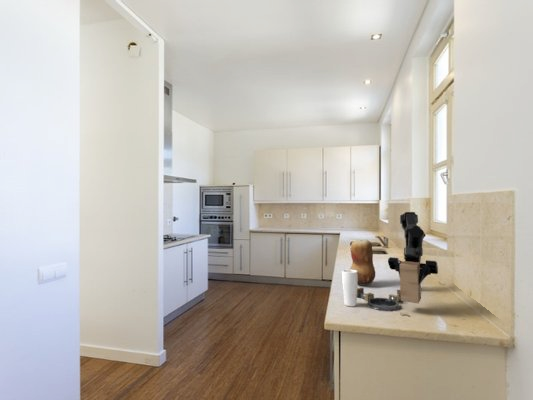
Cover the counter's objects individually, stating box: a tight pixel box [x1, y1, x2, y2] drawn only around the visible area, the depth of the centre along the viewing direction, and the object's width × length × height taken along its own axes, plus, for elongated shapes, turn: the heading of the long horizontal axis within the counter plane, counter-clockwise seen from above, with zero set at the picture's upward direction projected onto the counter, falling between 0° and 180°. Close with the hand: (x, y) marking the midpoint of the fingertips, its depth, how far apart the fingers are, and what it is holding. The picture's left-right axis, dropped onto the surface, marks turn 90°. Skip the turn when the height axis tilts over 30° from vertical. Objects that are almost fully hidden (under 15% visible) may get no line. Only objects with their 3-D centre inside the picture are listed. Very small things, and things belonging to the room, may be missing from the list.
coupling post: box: [399, 260, 422, 304], centre depth 124 cm, size 6×6×15 cm
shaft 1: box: [357, 287, 375, 303], centre depth 141 cm, size 8×4×4 cm, turn 24°
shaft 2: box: [388, 289, 401, 304], centre depth 137 cm, size 8×4×4 cm, turn 124°
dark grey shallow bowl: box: [366, 297, 400, 312], centre depth 131 cm, size 13×13×2 cm
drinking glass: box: [341, 269, 359, 307], centre depth 133 cm, size 7×7×15 cm
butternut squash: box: [350, 239, 376, 286], centre depth 166 cm, size 14×13×25 cm
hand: (409, 282), depth 123 cm, fingers closed on coupling post, 6 cm apart
